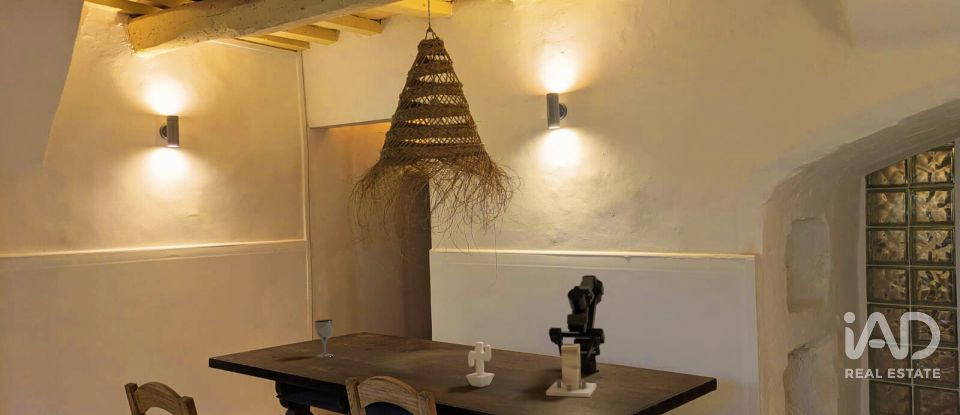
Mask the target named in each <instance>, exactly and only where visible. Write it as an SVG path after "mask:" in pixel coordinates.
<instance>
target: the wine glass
mask: <svg viewBox="0 0 960 415" xmlns="http://www.w3.org/2000/svg"><path fill="white" fill-rule="evenodd" d="M313 324H314V330H315V334H316V336H318V338H319V339H320V340H321V342H322V344H323V353H321V354H318V355H316V357H317V358H331V357H333V355H334V354H332V353H327V348H326V347H327V342H328V340H329V339H330V337H331V336H332V335H333V332H334V319H316V320H314V323H313Z"/></svg>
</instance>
